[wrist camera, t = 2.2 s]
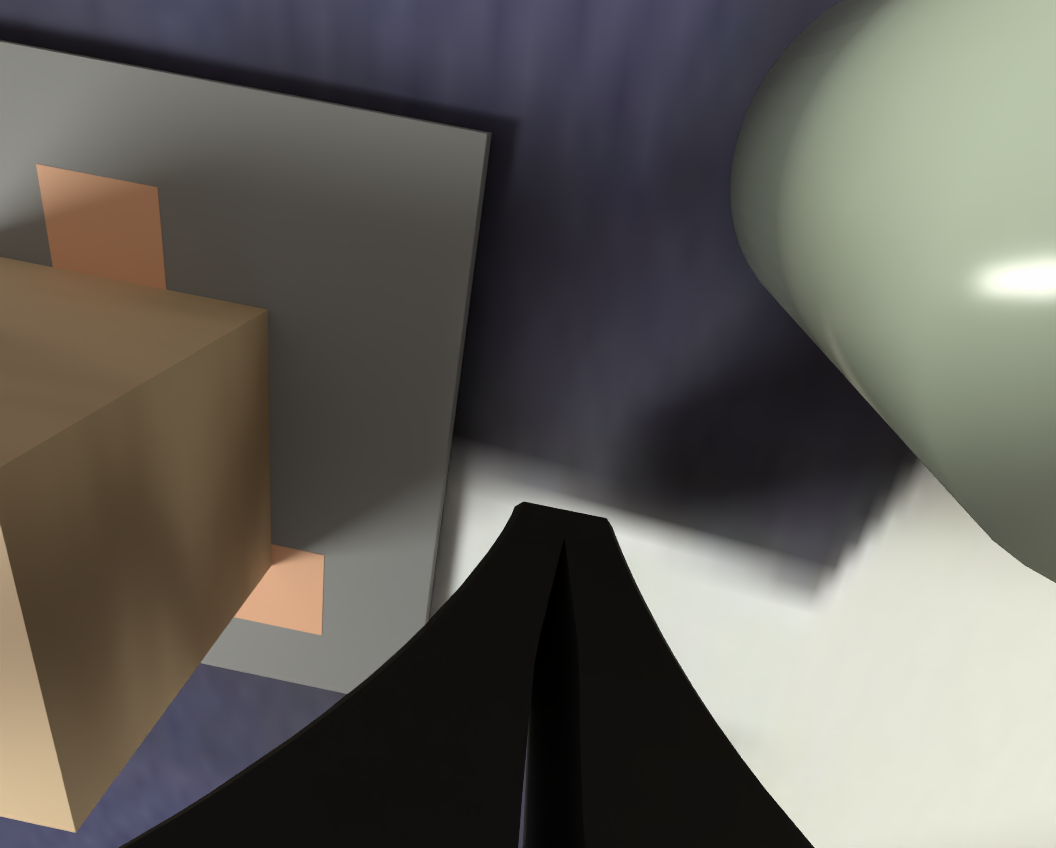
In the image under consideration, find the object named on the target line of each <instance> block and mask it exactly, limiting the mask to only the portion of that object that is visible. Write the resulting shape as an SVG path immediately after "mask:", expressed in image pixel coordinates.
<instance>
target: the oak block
mask: <svg viewBox="0 0 1056 848" xmlns="http://www.w3.org/2000/svg"><path fill="white" fill-rule="evenodd" d="M270 567H271V503H270V436H269V369H268V309H262V308H257V307H252V306H247V305H242V304H237V303H232V302H227V301H222V300H217V299H212V298H207V297H202V296H196V295H191V294H186V293H181V292H176V291H171V290H166V289H161V288H156V287H151V286H146V285H141V284H136V283H130V282H125V281H120V280H115V279H110V278H105V277H100V276H95V275H90V274H85V273H80V272H75V271H70V270H65V269H59V268H54V267H49V266H44V265H39V264H34V263H29V262H24V261H19V260H14V259H9V258H4V257H0V816H2V817H6V818H11V819H15V820H20V821H25V822H29V823H34V824H38V825H43V826H48V827H52V828H57V829H61V830H66V831H71V832H75V833H76V832H77V830H78V829H79V827H80V826H81V825H82V823H83V822H84V821H85V819H86V818H87V817H88V815H89V814H90V812H91V811H92V810H93V808H94V807H95V806H96V804H97V803H98V802H99V800H100V799H101V797H102V796H103V795H104V793H105V792H106V791H107V789H108V788H109V787H110V785H111V784H112V782H113V781H114V780H115V778H116V777H117V776H118V774H119V773H120V772H121V770H122V769H123V767H124V766H125V765H126V763H127V762H128V761H129V759H130V758H131V757H132V755H133V754H134V752H135V751H136V750H137V748H138V747H139V746H140V744H141V743H142V742H143V740H144V739H145V737H146V736H147V735H148V733H149V732H150V731H151V729H152V728H153V727H154V725H155V724H156V722H157V721H158V720H159V718H160V717H161V716H162V714H163V713H164V712H165V710H166V709H167V707H168V706H169V705H170V703H171V702H172V701H173V699H174V698H175V697H176V695H177V694H178V692H179V691H180V690H181V688H182V687H183V686H184V684H185V683H186V682H187V680H188V679H189V677H190V676H191V675H192V673H193V672H194V671H195V669H196V668H197V667H198V665H199V664H200V662H201V661H202V660H203V658H204V657H205V656H206V654H207V653H208V652H209V650H210V649H211V647H212V646H213V645H214V643H215V642H216V641H217V639H218V638H219V637H220V635H221V634H222V632H223V631H224V630H225V628H226V627H227V626H228V624H229V623H230V622H231V620H232V619H233V617H234V616H235V615H236V613H237V612H238V611H239V609H240V608H241V607H242V605H243V604H244V602H245V601H246V600H247V598H248V597H249V596H250V594H251V593H252V592H253V590H254V589H255V587H256V586H257V585H258V583H259V582H260V581H261V579H262V578H263V577H264V575H265V574H266V572H267V571H268V570H269V568H270Z"/></svg>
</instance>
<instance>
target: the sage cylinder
mask: <svg viewBox="0 0 1056 848" xmlns="http://www.w3.org/2000/svg"><path fill="white" fill-rule="evenodd" d="M730 203H731V212H732V218H733V224H734V229H735V232H736V236H737V239H738V242H739V245H740V248H741V250H742V252H743V254H744V257H745V259H746V261H747V263H748V265H749V267H750V268H751V270H752V271H753V273H754V274H755V276H756V277H757V279H758V280H759V281H760V283H761V284H762V285H763V286H764V287H765V288H766V289H767V290H768V292H769V293H770V294H771V295H772V296H773V297H774V298H775V299H776V300H777V302H778V303H779V304H780V305H781V306H782V307H783V308H784V309H785V310H786V312H787V313H788V314H789V315H790V316H791V317H792V318H793V319H794V320H795V322H796V323H797V324H798V325H799V326H800V327H801V328H802V329H803V330H804V332H805V333H806V334H807V335H808V336H809V337H810V338H811V339H812V340H813V342H814V343H815V344H816V345H817V346H818V347H819V348H820V349H821V350H822V352H823V353H824V354H825V355H826V356H827V357H828V358H829V359H830V360H831V362H832V363H833V364H834V365H835V366H836V367H837V368H838V369H839V370H840V372H841V373H842V374H843V375H844V376H845V377H846V378H847V379H848V380H849V382H850V383H851V384H852V385H853V386H854V387H855V388H856V389H857V390H858V392H859V393H860V394H861V395H862V396H863V397H864V398H865V399H866V400H867V402H868V403H869V404H870V405H871V406H872V407H873V408H874V409H875V410H876V412H877V413H878V414H879V415H880V416H881V417H882V418H883V419H884V420H885V422H886V423H887V424H888V425H889V426H890V427H891V428H892V429H893V430H894V432H895V433H896V434H897V435H898V436H899V437H900V438H901V439H902V440H903V442H904V443H905V444H906V445H907V446H908V447H909V448H910V449H911V450H912V452H913V453H914V454H915V455H916V456H917V457H918V458H919V459H920V460H921V462H922V463H923V464H924V465H925V466H926V467H927V468H928V469H929V470H930V472H931V473H932V474H933V475H934V476H935V477H936V478H937V479H938V480H939V482H940V483H941V484H942V485H943V486H944V487H945V488H946V489H947V490H948V492H949V493H950V494H951V495H952V496H953V497H954V498H955V499H956V500H957V502H958V503H959V504H960V505H961V506H962V507H963V508H964V509H965V510H966V512H967V513H968V514H969V515H970V516H971V517H972V518H973V519H974V520H975V521H976V522H977V524H978V525H979V526H980V527H981V528H982V529H983V530H984V531H985V532H986V533H987V534H988V536H989V537H990V538H991V539H992V540H993V541H994V542H996V543H997V544H998V545H999V546H1001V547H1002V548H1003V549H1005V550H1006V551H1007V552H1008V553H1010V554H1011V555H1012V556H1013V557H1015V558H1016V559H1017V560H1019V561H1020V562H1021V563H1022V564H1024V565H1025V566H1027V567H1029V568H1030V569H1032V570H1034V571H1036V572H1037V573H1039V574H1041V575H1043V576H1045V577H1046V578H1048V579H1050V580H1052V581H1053V582H1055V583H1056V0H841V1H839V2H838V3H836V4H835V5H833V6H831V7H830V8H829V9H828V10H827V11H825V12H824V13H823V14H822V15H820V16H819V17H818V18H817V19H815V20H814V21H813V22H812V23H811V24H809V25H808V26H807V27H806V28H805V29H804V30H803V31H802V32H801V33H800V34H799V35H798V36H797V37H796V38H795V40H794V41H793V42H792V43H791V44H790V45H789V46H788V47H787V48H786V50H785V51H784V52H783V53H782V55H781V56H780V57H779V58H778V60H777V61H776V62H775V63H774V65H773V66H772V67H771V69H770V71H769V72H768V74H767V75H766V77H765V79H764V80H763V82H762V83H761V85H760V87H759V88H758V90H757V92H756V94H755V96H754V98H753V100H752V102H751V104H750V106H749V108H748V110H747V112H746V115H745V118H744V121H743V123H742V126H741V129H740V132H739V135H738V138H737V142H736V147H735V151H734V156H733V160H732V169H731V179H730Z"/></svg>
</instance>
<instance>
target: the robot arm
mask: <svg viewBox="0 0 1056 848" xmlns="http://www.w3.org/2000/svg"><path fill="white" fill-rule="evenodd" d="M527 736H528V742H527ZM526 747H527V765H526V787H525V810H524V832H523V848H814V847H813V845H812V844H811V843H810V842H809V841H808V839H807V838H806V837H805V836H804V835H803V833H802V832H801V831H800V830H799V829H798V828H797V826H796V825H795V824H794V823H793V822H792V820H791V819H790V818H789V817H788V816H787V814H786V813H785V812H784V811H783V810H782V808H781V807H780V806H779V805H778V804H777V802H776V801H775V800H774V799H773V798H772V796H771V795H770V794H769V793H768V792H767V790H766V789H765V788H764V787H763V785H762V784H761V783H760V781H759V780H758V779H757V778H756V776H755V775H754V774H753V772H752V771H751V770H750V768H749V767H748V766H747V764H746V763H745V762H744V761H743V759H742V758H741V756H740V755H739V754H738V752H737V751H736V749H735V748H734V747H733V745H732V744H731V742H730V741H729V740H728V738H727V737H726V735H725V734H724V733H723V731H722V730H721V728H720V727H719V725H718V724H717V723H716V721H715V720H714V718H713V717H712V715H711V714H710V712H709V711H708V709H707V708H706V706H705V705H704V703H703V702H702V700H701V698H700V697H699V695H698V694H697V692H696V691H695V689H694V688H693V686H692V684H691V683H690V681H689V679H688V678H687V676H686V674H685V673H684V671H683V669H682V668H681V666H680V664H679V663H678V661H677V659H676V658H675V656H674V654H673V653H672V651H671V649H670V647H669V646H668V644H667V642H666V640H665V638H664V637H663V635H662V633H661V631H660V629H659V627H658V626H657V624H656V622H655V620H654V618H653V616H652V614H651V612H650V610H649V608H648V606H647V604H646V603H645V601H644V599H643V597H642V595H641V593H640V591H639V588H638V586H637V584H636V582H635V580H634V578H633V576H632V573H631V571H630V569H629V567H628V565H627V562H626V560H625V558H624V555H623V553H622V551H621V548H620V546H619V543H618V541H617V538H616V536H615V533H614V530H613V528H612V526H611V524H610V523H609V521H608V520H607V518H602V517H597V516H592V515H588V514H583V513H578V512H573V511H568V510H563V509H558V508H553V507H548V506H543V505H538V504H533V503H528V502H522V503H520V504H519V505H517V506H515V507H514V510H513V512H512V515H511V517H510V519H509V520H508V522H507V524H506V526H505V527H504V529H503V531H502V532H501V534H500V535H499V537H498V538H497V540H496V541H495V543H494V544H493V546H492V547H491V548H490V550H489V551H488V553H487V554H486V555H485V556H484V558H483V559H482V560H481V561H480V563H479V564H478V565H477V567H476V568H475V569H474V570H473V572H472V573H471V574H470V575H469V577H468V578H467V579H466V580H465V582H464V583H463V584H462V585H461V586H460V587H459V589H458V590H457V591H456V592H455V593H454V594H453V595H452V596H451V597H450V598H449V599H448V601H447V602H446V603H445V604H444V605H443V606H442V607H441V608H440V609H439V610H438V611H437V612H436V613H435V615H434V616H433V617H432V618H431V619H430V620H429V621H428V622H427V623H426V624H425V625H424V626H423V627H422V628H421V629H420V630H419V631H418V632H417V633H416V634H415V635H414V636H413V637H412V638H411V639H410V640H409V641H408V642H407V643H406V644H405V645H404V646H403V647H401V648H400V649H399V650H398V651H397V652H396V653H395V654H394V655H393V656H392V657H391V658H389V659H388V660H387V661H386V662H385V663H384V664H383V665H382V666H380V667H379V668H378V669H377V670H376V671H375V672H374V673H373V674H371V675H370V676H369V677H368V678H367V679H365V680H364V681H363V682H362V683H361V684H359V685H358V686H357V687H356V688H354V689H353V690H352V691H351V692H349V693H348V694H347V695H346V696H344V697H343V698H342V699H341V700H339V701H338V702H337V703H336V704H334V705H333V706H332V707H331V708H329V709H328V710H327V711H326V712H325V713H323V714H322V715H321V716H319V717H318V718H317V719H315V720H314V721H313V722H311V723H310V724H309V725H307V726H306V727H305V728H303V729H302V730H301V731H299V732H298V733H297V734H295V735H294V736H292V737H291V738H290V739H288V740H287V741H285V742H284V743H282V744H281V745H279V746H278V747H276V748H275V749H273V750H272V751H271V752H269V753H268V754H266V755H265V756H263V757H262V758H260V759H259V760H257V761H256V762H254V763H253V764H251V765H250V766H248V767H247V768H246V769H244V770H243V771H241V772H240V773H238V774H237V775H235V776H234V777H232V778H231V779H229V780H228V781H226V782H225V783H223V784H222V785H220V786H219V787H218V788H216V789H215V790H213V791H212V792H210V793H209V794H207V795H206V796H204V797H202V798H201V799H199V800H198V801H196V802H194V803H193V804H191V805H190V806H188V807H187V808H185V809H183V810H182V811H180V812H179V813H177V814H175V815H173V816H172V817H170V818H168V819H167V820H165V821H163V822H162V823H160V824H158V825H156V826H155V827H153V828H151V829H150V830H148V831H146V832H145V833H143V834H141V835H139V836H138V837H136V838H134V839H133V840H131V841H129V842H128V843H126V844H124V845H122V846H121V847H119V848H518V842H519V829H520V817H521V804H522V791H523V780H524V769H525V758H526Z"/></svg>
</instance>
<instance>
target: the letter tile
mask: <svg viewBox="0 0 1056 848" xmlns="http://www.w3.org/2000/svg"><path fill="white" fill-rule="evenodd" d="M491 136H492V133H491V132H485V131H480V130H475V129H469V128H464V127H459V126H454V125H448V124H443V123H438V122H432V121H427V120H422V119H417V118H411V117H406V116H401V115H395V114H390V113H385V112H380V111H374V110H369V109H364V108H358V107H353V106H348V105H343V104H337V103H332V102H327V101H321V100H316V99H311V98H306V97H300V96H295V95H290V94H284V93H279V92H274V91H269V90H263V89H258V88H253V87H248V86H242V85H237V84H232V83H226V82H221V81H216V80H211V79H205V78H200V77H195V76H189V75H184V74H179V73H174V72H168V71H163V70H158V69H152V68H147V67H142V66H137V65H131V64H126V63H121V62H115V61H110V60H105V59H100V58H94V57H89V56H84V55H78V54H73V53H68V52H63V51H57V50H52V49H47V48H41V47H36V46H31V45H26V44H20V43H15V42H10V41H4V40H0V257H4V258H9V259H14V260H19V261H24V262H29V263H34V264H39V265H44V266H49V267H54V268H59V269H65V270H70V271H75V272H80V273H85V274H90V275H95V276H100V277H105V278H110V279H115V280H120V281H125V282H130V283H136V284H141V285H146V286H151V287H156V288H161V289H166V290H171V291H176V292H181V293H186V294H191V295H196V296H202V297H207V298H212V299H217V300H222V301H227V302H232V303H237V304H242V305H247V306H252V307H257V308H262V309H268V369H269V436H270V503H271V567H270V568H269V570H268V571H267V572H266V574H265V575H264V577H263V578H262V579H261V581H260V582H259V583H258V585H257V586H256V587H255V589H254V590H253V592H252V593H251V594H250V596H249V597H248V598H247V600H246V601H245V602H244V604H243V605H242V607H241V608H240V609H239V611H238V612H237V613H236V615H235V616H234V617H233V619H232V620H231V622H230V623H229V624H228V626H227V627H226V628H225V630H224V631H223V632H222V634H221V635H220V637H219V638H218V639H217V641H216V642H215V643H214V645H213V646H212V647H211V649H210V650H209V652H208V653H207V654H206V656H205V657H204V658H203V660H202V661H201V662H200V663H203V664H208V665H212V666H217V667H222V668H227V669H231V670H236V671H241V672H246V673H250V674H255V675H260V676H265V677H270V678H274V679H279V680H284V681H289V682H293V683H298V684H303V685H308V686H312V687H317V688H322V689H327V690H331V691H336V692H341V693H346V694H348V693H349V692H351V691H352V690H353V689H354V688H356V687H357V686H358V685H359V684H361V683H362V682H363V681H364V680H365V679H367V678H368V677H369V676H370V675H371V674H373V673H374V672H375V671H376V670H377V669H378V668H379V667H380V666H382V665H383V664H384V663H385V662H386V661H387V660H388V659H389V658H391V657H392V656H393V655H394V654H395V653H396V652H397V651H398V650H399V649H400V648H401V647H403V646H404V645H405V644H406V643H407V642H408V641H409V640H410V639H411V638H412V637H413V636H414V635H415V634H416V633H417V632H418V631H419V630H420V629H421V628H422V627H423V626H424V625H425V624H426V623H427V622H428V621H429V613H430V606H431V598H432V590H433V583H434V575H435V567H436V559H437V552H438V544H439V536H440V529H441V521H442V513H443V505H444V498H445V490H446V482H447V475H448V467H449V459H450V452H451V444H452V436H453V428H454V421H455V413H456V405H457V398H458V390H459V382H460V375H461V367H462V359H463V351H464V344H465V336H466V328H467V321H468V313H469V305H470V297H471V290H472V282H473V274H474V267H475V259H476V251H477V244H478V236H479V228H480V220H481V213H482V205H483V197H484V190H485V182H486V174H487V167H488V159H489V151H490V143H491Z"/></svg>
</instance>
